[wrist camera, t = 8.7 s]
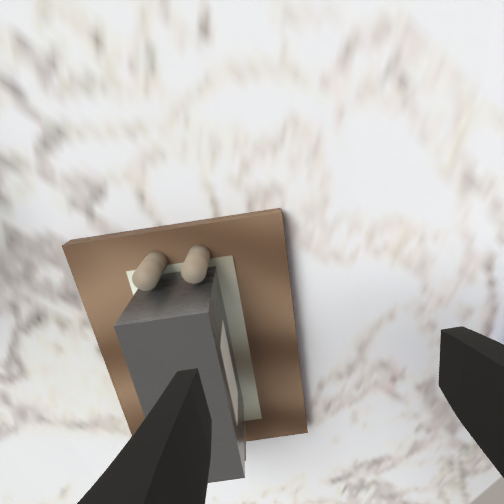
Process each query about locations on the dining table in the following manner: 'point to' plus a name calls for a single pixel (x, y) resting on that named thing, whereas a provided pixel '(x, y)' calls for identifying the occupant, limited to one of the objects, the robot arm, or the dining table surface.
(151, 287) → the pin tray
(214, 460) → the block
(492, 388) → the robot arm
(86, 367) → the dining table surface
